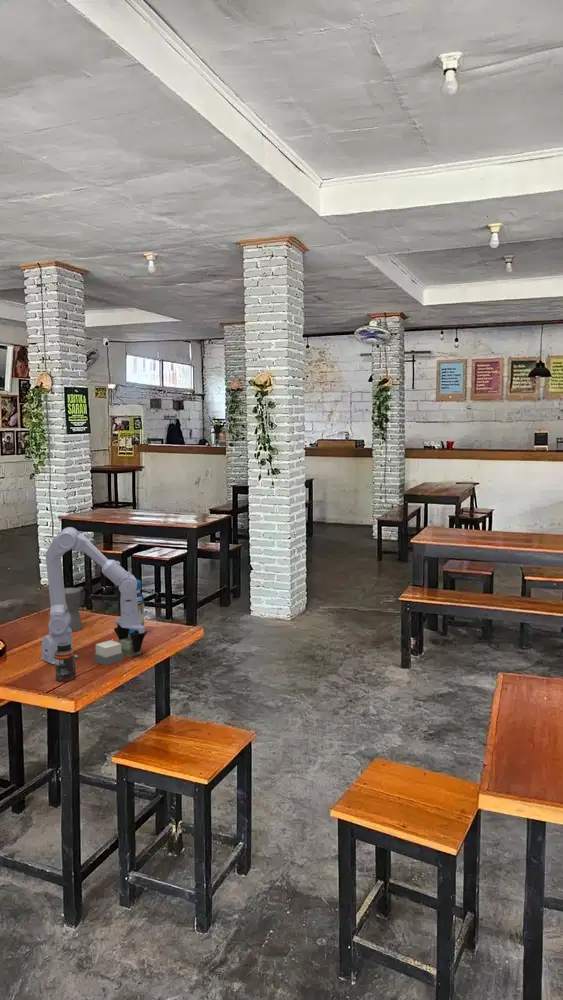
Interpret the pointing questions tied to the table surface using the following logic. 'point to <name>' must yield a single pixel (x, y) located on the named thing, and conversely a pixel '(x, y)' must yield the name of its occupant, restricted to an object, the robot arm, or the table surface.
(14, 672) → the table surface
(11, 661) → the table surface
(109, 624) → the table surface
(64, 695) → the table surface
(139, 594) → the beverage bottle
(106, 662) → the tower base
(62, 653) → the supplement bottle
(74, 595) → the coffeepot
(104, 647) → the tower top
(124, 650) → the sage block
